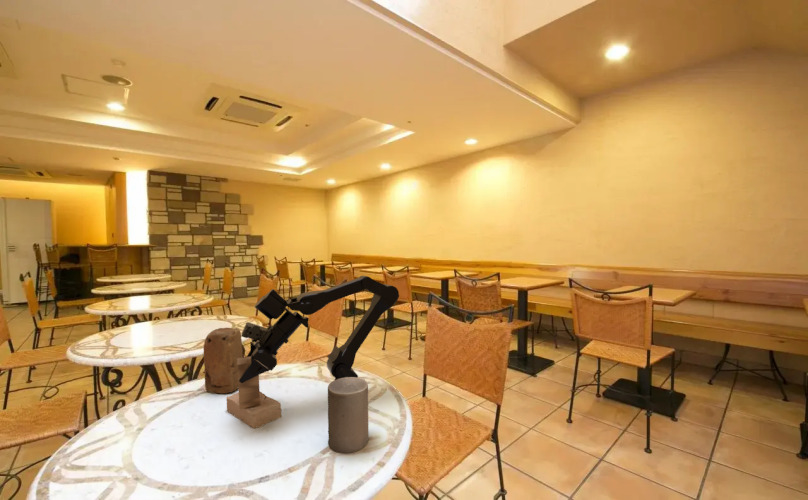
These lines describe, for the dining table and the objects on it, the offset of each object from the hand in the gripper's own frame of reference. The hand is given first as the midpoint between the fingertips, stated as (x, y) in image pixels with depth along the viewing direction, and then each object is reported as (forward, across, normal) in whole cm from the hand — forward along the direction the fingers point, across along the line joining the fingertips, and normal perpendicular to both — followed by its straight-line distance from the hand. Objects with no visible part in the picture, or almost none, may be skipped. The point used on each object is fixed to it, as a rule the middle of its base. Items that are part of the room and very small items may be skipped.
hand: (240, 375), depth 90 cm
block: (+13, -25, +5) cm, 29 cm away
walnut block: (+4, -1, +7) cm, 8 cm away
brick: (+7, -3, +11) cm, 14 cm away
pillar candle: (-8, +22, +26) cm, 35 cm away
